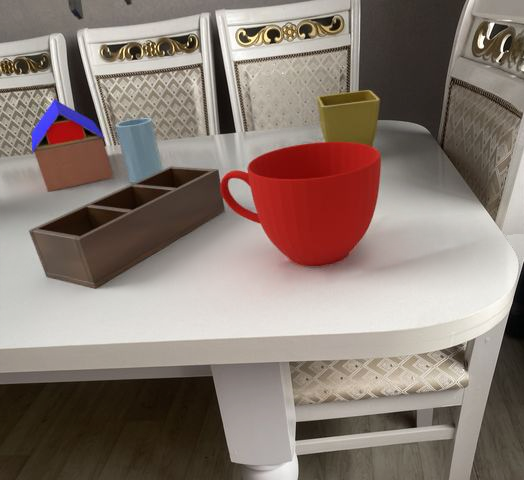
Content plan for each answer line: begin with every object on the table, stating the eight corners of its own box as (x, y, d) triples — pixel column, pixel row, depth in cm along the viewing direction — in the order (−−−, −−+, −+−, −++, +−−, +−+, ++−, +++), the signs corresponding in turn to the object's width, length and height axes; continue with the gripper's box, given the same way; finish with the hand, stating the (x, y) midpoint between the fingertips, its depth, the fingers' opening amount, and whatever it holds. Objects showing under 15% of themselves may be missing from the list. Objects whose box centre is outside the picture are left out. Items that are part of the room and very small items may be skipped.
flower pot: (380, 160, 83) (380, 98, 78) (324, 167, 83) (321, 105, 78) (370, 146, 90) (370, 89, 85) (319, 153, 91) (316, 96, 86)
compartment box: (46, 276, 60) (28, 230, 57) (178, 205, 76) (170, 166, 73) (95, 288, 56) (79, 239, 53) (225, 210, 72) (218, 169, 69)
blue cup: (122, 182, 90) (107, 126, 85) (145, 171, 94) (133, 117, 89) (147, 184, 87) (133, 126, 82) (171, 173, 91) (159, 117, 86)
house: (46, 192, 90) (20, 119, 84) (43, 167, 106) (22, 104, 99) (115, 177, 93) (96, 106, 86) (102, 155, 109) (85, 93, 102)
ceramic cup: (252, 227, 65) (241, 144, 60) (390, 232, 59) (392, 139, 54) (206, 274, 56) (188, 180, 50) (365, 285, 50) (364, 179, 44)
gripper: (35, -93, 82) (48, 5, 81) (119, -122, 80) (134, -22, 79) (62, -55, 90) (74, 35, 89) (139, -80, 87) (153, 12, 86)
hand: (102, 8), depth 84 cm, fingers open, 8 cm apart
